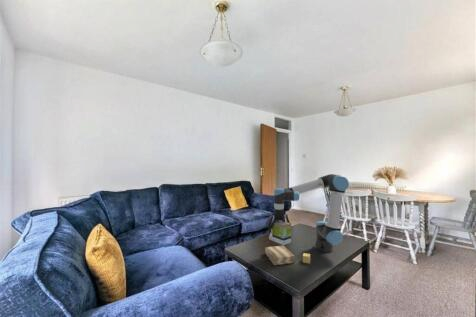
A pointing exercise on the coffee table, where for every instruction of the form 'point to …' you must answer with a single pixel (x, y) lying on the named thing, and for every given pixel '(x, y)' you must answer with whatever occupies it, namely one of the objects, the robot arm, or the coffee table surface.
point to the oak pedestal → (279, 255)
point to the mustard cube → (306, 258)
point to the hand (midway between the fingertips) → (279, 236)
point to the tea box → (281, 232)
